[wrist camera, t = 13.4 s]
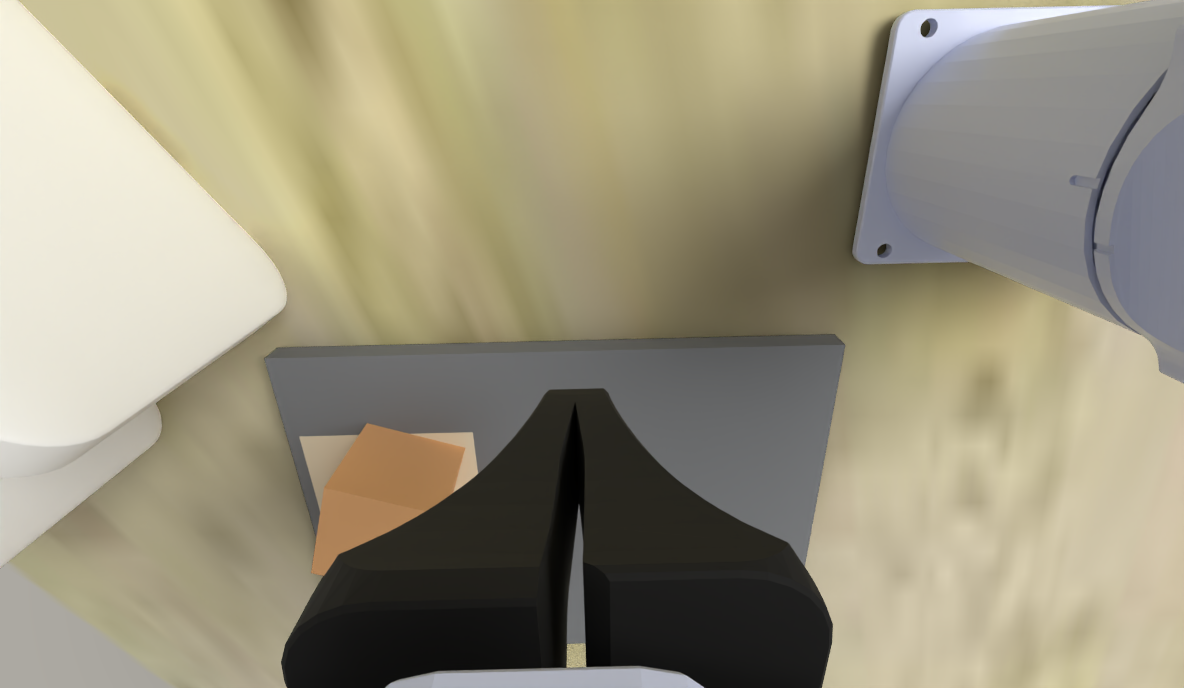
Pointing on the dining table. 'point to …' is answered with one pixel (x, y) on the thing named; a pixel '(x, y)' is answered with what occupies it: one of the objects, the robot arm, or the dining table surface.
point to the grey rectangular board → (622, 367)
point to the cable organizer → (99, 282)
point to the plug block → (382, 489)
